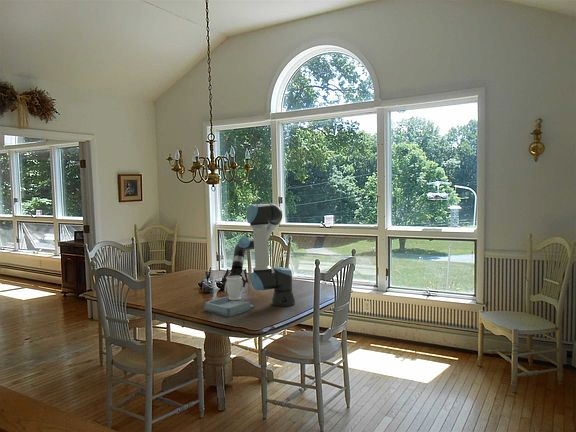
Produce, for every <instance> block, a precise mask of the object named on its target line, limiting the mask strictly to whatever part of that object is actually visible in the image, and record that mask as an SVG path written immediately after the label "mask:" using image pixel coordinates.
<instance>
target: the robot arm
mask: <svg viewBox="0 0 576 432" xmlns="http://www.w3.org/2000/svg"><path fill="white" fill-rule="evenodd" d="M245 214H246V215H245V217H246V218H245V219H246V222H247V224H250V225H249V226H250V228H251V229H252V234H253V235H252V237H253V238H249V237H247V236H245V235H244V236H241V237H240V238H239V239H238V241H237V244H235V245H234V252H233V258H232V264H231V269H228V268H227V269H226V272H225V273H224V276H223V277H222V279H221V281H222V284H223V288H224V292H225V293H227V287H226V284H227V279H226V277H228V276H242V279H241V280H242V286H241V292H242V293H243V292H244V288H245V287H246V284H248V283H249V279H248V276H247V268H245V269H243V268H244V267H243V266H244V261H245V254H246V252H247V251H248V250H253V252H254V262H255V263H254V265H255V266H254V268H253V269H252V271H253V272H250V276H249V278H250V285H251V286H252V288H253V289H254V290H255V291H257V292H258V291H262V292H263V291H267V290H268V291H269V290H273V295H272V298H271V305H272V306H276V307H290V306H294V305H295V304H296V298H295V296H294V293H293V274H292V273H293V271H292V269H291V268H289V267H285V266H283V267H282V266H275V267H273V269H272V266H270V263H269V262H270V261H269V260H270V259H269V243H270V241H269V239H270V237H271V235H272V234H273V231H274V230H275V229H276V227H277V226H278V225H279V224H280V223H281V222H282V219H283V211H282V209H281V208H280V206H279V205H277V204H276V203H254V204H253V203H252V204H250V205H248V207H247V209H246V213H245ZM242 273H243V274H244V276H243V274H242ZM244 277H245V278H244Z"/></svg>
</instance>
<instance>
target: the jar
mask: <svg viewBox="0 0 576 432" xmlns="http://www.w3.org/2000/svg"><path fill="white" fill-rule="evenodd" d="M242 276H243V275H242ZM242 276H237V275H236V276H229V275H228V276H227V277H226V279H227V284H226V287H227V291H226V293H227V295H228V296H227V297H228V301H239V300H241V299H242V297H241V296H242V293H243V292H241V286H242V282H243V281H242Z"/></svg>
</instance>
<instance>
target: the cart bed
mask: <svg viewBox="0 0 576 432" xmlns="http://www.w3.org/2000/svg"><path fill="white" fill-rule="evenodd" d="M228 298H229V296H223V297H219V298H216V299H212V300H208V301H206V302H203V310H204V311H205V312H207V313H208V312H209V313H212V314H216V315H220V316H223V317H228V318H229V317H233V316H236V315H238V314H241V313H245V312H248V311H251V309H252V308H255V304H251V301H241V300H240V301H239V300H229V299H228Z"/></svg>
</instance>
